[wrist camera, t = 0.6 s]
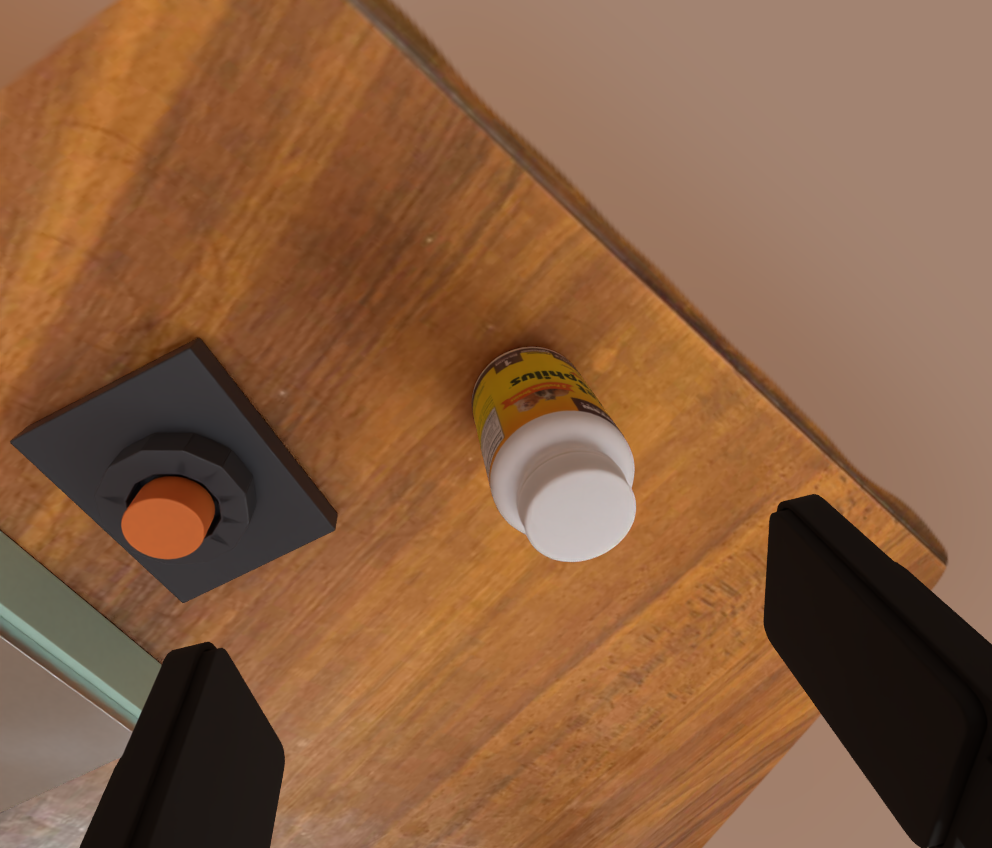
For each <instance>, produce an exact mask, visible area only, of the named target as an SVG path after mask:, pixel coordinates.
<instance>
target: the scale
mask: <svg viewBox="0 0 992 848" xmlns="http://www.w3.org/2000/svg"><path fill="white" fill-rule="evenodd" d="M161 666H162V665H161V664H160V663H159V662H158V661H156V660H155V659H154V658H153V657H152V656H150V655H149V654H148V653H147V652H146V651H144V650H143V649H142V648H141V647H140V646H138V645H137V644H136V643H135V642H134V641H132V640H131V639H130V638H129V637H128V636H126V635H125V634H124V633H123V632H122V631H120V630H119V629H118V628H117V627H116V626H114V625H113V624H112V623H111V622H110V621H108V620H107V619H106V618H105V617H104V616H102V615H101V614H100V613H99V612H98V611H96V610H95V609H94V608H93V607H92V606H90V605H89V604H88V603H87V602H86V601H84V600H83V599H82V598H81V597H80V596H78V595H77V594H76V593H75V592H74V591H72V590H71V589H70V588H69V587H68V586H66V585H65V584H64V583H63V582H62V581H60V580H59V579H58V578H57V577H56V576H54V575H53V574H52V573H51V572H50V571H48V570H47V569H46V568H45V567H44V566H42V565H41V564H40V563H39V562H38V561H36V560H35V559H34V558H33V557H32V556H30V555H29V554H28V553H27V552H26V551H24V550H23V549H22V548H21V547H20V546H18V545H17V544H16V543H15V542H14V541H12V540H11V539H10V538H9V537H8V536H6V535H5V534H4V533H3V532H2V531H0V813H1V812H3V811H6V810H8V809H10V808H12V807H14V806H16V805H19V804H21V803H23V802H25V801H27V800H29V799H32V798H34V797H36V796H38V795H40V794H42V793H45V792H47V791H49V790H51V789H53V788H56V787H58V786H60V785H62V784H64V783H66V782H69V781H71V780H73V779H75V778H77V777H79V776H82V775H84V774H86V773H88V772H90V771H92V770H95V769H97V768H99V767H101V766H103V765H105V764H108V763H110V762H112V761H114V760H116V759H118V758H121V757H122V755H123V753H124V750H125V748H126V746H127V743H128V741H129V739H130V737H131V734H132V732H133V730H134V728H135V725H136V723H137V721H138V718H139V716H140V714H141V712H142V709H143V707H144V705H145V702H146V700H147V698H148V696H149V693H150V691H151V689H152V686H153V684H154V682H155V680H156V677H157V675H158V673H159V671H160V668H161Z"/></svg>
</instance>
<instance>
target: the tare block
mask: <svg viewBox="0 0 992 848" xmlns="http://www.w3.org/2000/svg"><path fill="white" fill-rule="evenodd" d="M10 443H11V444H12V445H13V446H14V447H15V448H17V449H18V450H19V451H20V452H21V453H22V454H23V455H24V456H25V457H26V458H27V459H28V460H29V461H31V462H32V463H33V464H34V465H35V466H36V467H37V468H38V469H39V470H40V471H41V472H42V473H43V474H45V475H46V476H47V477H48V478H49V479H50V480H51V481H52V482H53V483H54V484H55V485H56V486H57V487H58V488H60V489H61V490H62V491H63V492H64V493H65V494H66V495H67V496H68V497H69V498H70V499H71V500H72V501H74V502H75V503H76V504H77V505H78V506H79V507H80V508H81V509H82V510H83V511H84V512H85V513H86V514H88V515H89V516H90V517H91V518H92V519H93V520H94V521H95V522H96V523H97V524H98V525H99V526H100V527H102V528H103V529H104V530H105V531H106V532H107V533H108V534H109V535H110V536H111V537H112V538H113V539H114V540H116V541H117V542H118V543H119V544H120V545H121V546H122V547H123V548H124V549H125V550H126V551H127V552H128V553H129V554H131V555H132V556H133V557H134V558H135V559H136V560H137V561H138V562H139V563H140V564H141V565H142V566H143V567H145V568H146V569H147V570H148V571H149V572H150V573H151V574H152V575H153V576H154V577H155V578H156V579H157V580H159V581H160V582H161V583H162V584H163V585H164V586H165V587H166V588H167V589H168V590H169V591H170V592H171V593H173V594H174V595H175V596H176V597H177V598H178V599H179V600H180V601H181V602H182V603H185V602H187V601H189V600H191V599H193V598H195V597H197V596H199V595H202V594H204V593H206V592H208V591H210V590H212V589H214V588H216V587H218V586H220V585H222V584H224V583H227V582H229V581H231V580H233V579H235V578H237V577H239V576H241V575H243V574H245V573H247V572H249V571H251V570H254V569H256V568H258V567H260V566H262V565H264V564H266V563H268V562H270V561H272V560H274V559H276V558H279V557H281V556H283V555H285V554H287V553H289V552H291V551H293V550H295V549H297V548H299V547H301V546H304V545H306V544H308V543H310V542H312V541H314V540H316V539H318V538H320V537H322V536H324V535H326V534H328V533H331V532H333V531H334V530H335V528H336V522H337V513H336V511H335V510H334V509H333V508H332V506H331V505H330V504H329V503H328V501H327V500H326V499H325V497H324V496H323V495H322V494H321V492H320V491H319V490H318V488H317V487H316V486H315V485H314V483H313V482H312V481H311V480H310V478H309V477H308V476H307V474H306V473H305V472H304V471H303V469H302V468H301V467H300V465H299V464H298V463H297V462H296V460H295V459H294V458H293V456H292V455H291V454H290V453H289V451H288V450H287V449H286V448H285V446H284V445H283V444H282V442H281V441H280V440H279V439H278V437H277V436H276V435H275V433H274V432H273V431H272V430H271V428H270V427H269V426H268V425H267V423H266V422H265V421H264V419H263V418H262V417H261V416H260V414H259V413H258V412H257V410H256V409H255V408H254V407H253V405H252V404H251V403H250V401H249V400H248V399H247V398H246V396H245V395H244V394H243V393H242V391H241V390H240V389H239V387H238V386H237V385H236V384H235V382H234V381H233V380H232V378H231V377H230V376H229V375H228V373H227V372H226V371H225V369H224V368H223V367H222V366H221V364H220V363H219V362H218V361H217V359H216V358H215V357H214V355H213V354H212V353H211V352H210V350H209V349H208V348H207V346H206V345H205V344H204V343H203V341H202V340H201V339H200V338H197V339H195V340H193V341H191V342H189V343H187V344H185V345H183V346H181V347H179V348H178V349H176V350H174V351H172V352H170V353H168V354H166V355H164V356H162V357H160V358H158V359H156V360H154V361H153V362H151V363H149V364H147V365H145V366H143V367H141V368H139V369H137V370H135V371H133V372H131V373H130V374H128V375H126V376H124V377H122V378H120V379H118V380H116V381H114V382H112V383H110V384H108V385H107V386H105V387H103V388H101V389H99V390H97V391H95V392H93V393H91V394H89V395H87V396H85V397H84V398H82V399H80V400H78V401H76V402H74V403H72V404H70V405H68V406H66V407H64V408H62V409H60V410H59V411H57V412H55V413H53V414H51V415H49V416H47V417H45V418H43V419H41V420H39V421H37V422H36V423H34V424H32V425H30V426H28V427H26V428H25V429H24V430H23V431H22V432H20V433H19V434H18V435H17V436H16V437H14V438H13V439H12V440H11V441H10ZM165 476H178V477H183V478H187V479H190V480H192V481H194V482H196V483H198V484H200V485H201V486H202V487H204V488H205V489H206V490H207V491H208V493H209V494H210V495H211V497H212V499H213V501H214V505H215V515H214V518H213V520H212V522H211V525H210V527H209V529H208V531H207V533H206V535H205V537H204V540H203V542H202V544H201V545H200V546H199V547H198V548H197V550H195V551H194V552H192V553H191V554H189V555H187V556H184V557H181V558H176V559H159V558H154V557H151V556H148V555H145V554H143V553H141V552H139V551H138V550H136V549H135V548H134V547H132V546H131V545H130V544H129V543H128V541H127V540H126V539H125V537H124V535H123V532H122V527H121V521H122V517H123V514H124V513H125V511H126V510H127V508H128V507H129V505H130V504H131V502H132V501H133V499H134V498H135V497H136V495H137V494H138V492H139V491H140V489H141V488H142V487H143V486H144V485H145V484H146V483H148V482H150V481H151V480H154V479H156V478H160V477H165Z"/></svg>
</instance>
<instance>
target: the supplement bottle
mask: <svg viewBox="0 0 992 848" xmlns="http://www.w3.org/2000/svg"><path fill="white" fill-rule="evenodd" d="M472 412H473V418H474V421H475V425H476V429H477V434H478V438H479V442H480V447H481V451H482V455H483V459H484V463H485V467H486V472H487V476H488V480H489V484H490V488H491V492H492V496H493V499H494V502H495V504H496V506H497V509H498V510H499V512H500V514H501V515H502V516H503V518H504V519H505V520H506V521H507V522H508V523H509V524H510V525H511V526H513V527H514V528H515V529H517V530H518V531H520V532H522V533H524V534H526V535H527V537H528V539H529V541H530V542H531V544H532V545H533V546H534V548H535V549H537V550H538V551H539V552H540V553H542V554H543V555H545V556H547V557H549V558H551V559H554V560H558V561H565V562H578V561H584V560H589V559H592V558H595V557H598V556H600V555H602V554H604V553H606V552H608V551H609V550H611V549H612V548H613V547H615V546H616V545H617V544H618V543H619V542H620V541H621V540H622V539H623V538H624V537H625V536H626V534H627V533H628V531H629V530H630V528H631V526H632V524H633V521H634V517H635V513H636V501H635V496H634V493H633V491H632V489H631V488H632V484H633V479H634V460H633V455H632V452H631V449H630V447H629V445H628V443H627V441H626V440H625V438H624V436H623V434H622V433H621V432H620V430H619V429H618V427H617V426H616V425H615V423H614V422H613V421H612V419H611V418H610V416H609V415H608V413H607V412H606V411H605V409H604V408H603V406H602V405H601V403H600V402H599V401H598V399H597V398H596V396H595V395H594V393H593V392H592V391H591V389H590V388H589V386H588V385H587V383H586V382H585V381H584V379H583V378H582V376H581V375H580V373H579V372H578V371H577V369H576V368H575V367H574V366H573V365H572V364H571V362H570V361H569V360H567V359H566V358H565V357H564V356H562V355H561V354H559V353H557V352H555V351H552V350H549V349H546V348H541V347H523V348H518V349H514V350H511V351H508V352H506V353H504V354H502V355H500V356H499V357H497V358H496V359H494V360H493V361H492V362H491V363H490V364H489V365H488V366H487V367H486V368H485V369H484V370H483V372H482V373H481V375H480V376H479V378H478V380H477V382H476V384H475V387H474V390H473V395H472Z"/></svg>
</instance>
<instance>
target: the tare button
mask: <svg viewBox="0 0 992 848" xmlns="http://www.w3.org/2000/svg"><path fill="white" fill-rule="evenodd" d="M214 515H215V505H214V501H213V499H212V497H211V495H210V494H209V493H208V491H207V490H206V489H205V488H204V487H202V486H201V485H200V484H198V483H196V482H194V481H192V480H190V479H187V478H183V477H178V476H165V477H160V478H156V479H154V480H151V481H150V482H148V483H146V484H145V485H144V486H143V487H142V488H141V489H140V491H139V492H138V494H137V495H136V497H135V498H134V499H133V501H132V502H131V504H130V505H129V507H128V508H127V510H126V511H125V513H124V514H123V517H122V521H121V527H122V532H123V535H124V537H125V539H126V540H127V541H128V543H129V544H130V545H131V546H132V547H134V548H135V549H136V550H138V551H139V552H141V553H143V554H145V555H148V556H151V557H154V558H159V559H176V558H181V557H184V556H187V555H189V554H191V553H192V552H194V551H195V550H197V548H198V547H199V546H200V545H201V544H202V542H203V540H204V537H205V535H206V533H207V531H208V529H209V527H210V525H211V522H212V520H213V518H214Z"/></svg>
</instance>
